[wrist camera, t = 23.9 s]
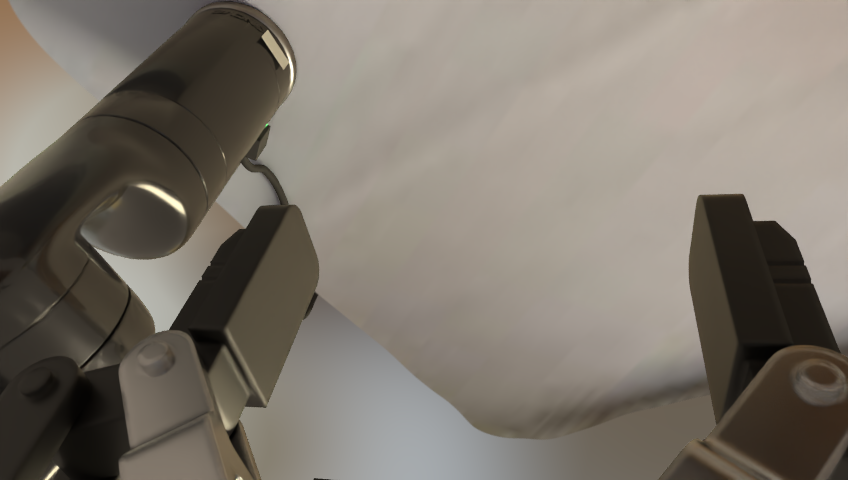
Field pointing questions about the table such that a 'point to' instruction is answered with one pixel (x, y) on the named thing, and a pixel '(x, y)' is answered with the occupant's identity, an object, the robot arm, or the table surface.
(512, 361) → the table surface
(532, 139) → the table surface
